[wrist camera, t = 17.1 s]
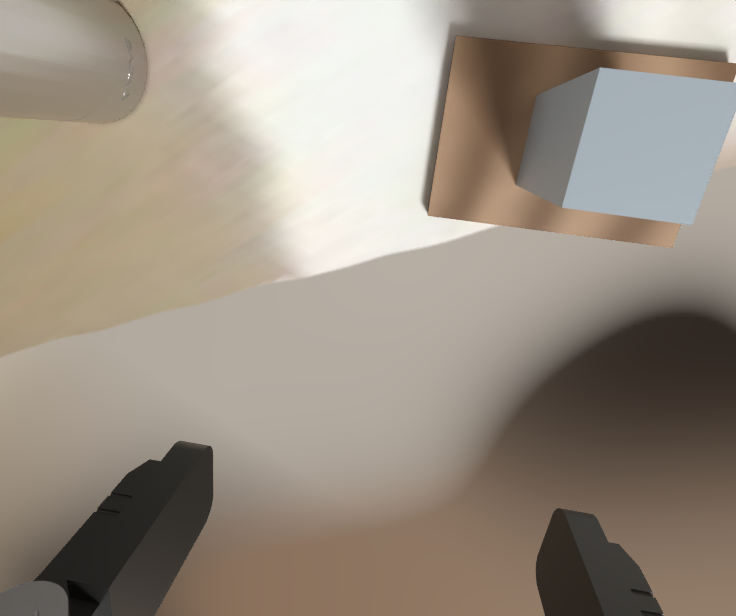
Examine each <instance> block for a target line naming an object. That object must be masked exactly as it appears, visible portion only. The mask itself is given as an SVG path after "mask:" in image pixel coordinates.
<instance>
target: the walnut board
mask: <svg viewBox="0 0 736 616" xmlns="http://www.w3.org/2000/svg"><path fill="white" fill-rule="evenodd" d="M600 67H601V68H610V69H619V70H627V71H636V72H645V73H654V74H663V75H672V76H681V77H690V78H699V79H708V80H717V81H725V82H733V80H734V78H735V75H736V63H726V62H716V61H706V60H695V59H685V58H675V57H665V56H655V55H645V54H635V53H625V52H615V51H605V50H595V49H585V48H575V47H565V46H555V45H544V44H534V43H524V42H514V41H504V40H494V39H484V38H474V37H464V36H456V38H455V44H454V51H453V57H452V63H451V70H450V76H449V82H448V89H447V95H446V101H445V108H444V114H443V120H442V127H441V133H440V139H439V146H438V152H437V158H436V165H435V171H434V177H433V184H432V190H431V196H430V203H429V209H428V216H434V217H442V218H449V219H457V220H465V221H472V222H480V223H487V224H495V225H503V226H511V227H518V228H525V229H533V230H541V231H549V232H556V233H563V234H571V235H579V236H587V237H594V238H602V239H609V240H617V241H624V242H632V243H639V244H647V245H655V246H662V247H670V248H672V247H673V245H674V242H675V239H676V237H677V234H678V231H679V228H680V226H681V224H678V223H671V222H664V221H656V220H649V219H642V218H634V217H627V216H620V215H612V214H605V213H598V212H590V211H583V210H576V209H568V208H562V207H559V206H557V205H555V204H553V203H551V202H549V201H547V200H545V199H543V198H541V197H539V196H537V195H535V194H533V193H531V192H529V191H527V190H525V189H523V188H520V187H518V186H516V183H517V178H518V174H519V170H520V165H521V161H522V157H523V152H524V148H525V144H526V140H527V135H528V131H529V127H530V122H531V118H532V114H533V109H534V105H535V101H536V97H537V95H538V94H540V93H543V92H545V91H547V90H550V89H552V88H554V87H556V86H559V85H561V84H563V83H566V82H568V81H570V80H573V79H575V78H577V77H579V76H582V75H584V74H586V73H589V72H591V71H593V70H595V69H598V68H600Z"/></svg>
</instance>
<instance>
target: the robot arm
mask: <svg viewBox="0 0 736 616" xmlns="http://www.w3.org/2000/svg"><path fill="white" fill-rule="evenodd" d="M146 79H147V59H146V54H145V48H144V45H143V42H142V39H141V36H140V34H139V32H138V30H137V28H136V26H135V24H134V23H133V21H132V19H131V18H130V17H129V15H128V14H127V13H126V12H125V10H124V9H123V8H122V7H121V6H120V5H119V4H118V3H117V2H115V1H114V0H0V117H4V118H21V119H38V120H55V121H69V122H87V123H109V122H115V121H117V120H119V119H122V118H124V117H125V116H126V115H128V114H129V113H130V112H131V111H133V109H134V108H135V107H136V105H137V104H138V102H139V101H140V99H141V97H142V94H143V92H144V89H145V84H146ZM212 501H213V450H212V448H211V446H207V445H201V444H196V443H190V442H184V441H178V442H177V443H175V444H174V445H173V447H172V448H171V449H170V451H169V452H168V453H167V454H166V456H165V457H164V458H163V459H162V461H155V460H148V461H147V462H145V463H143V464H142V465H140V466H139V467H137V468H136V469H134V470H133V471H131V472H129V473H128V474H127V475H126V476H125V477H124V478H123V479H122V481H121V482H120V483H119V484H118V485H117V486H116V487H115V489H114V490H113V491H112V493H111V495H110V496H108V497H107V498H106V499H105V500H104V501H103V502H102V504H101V505H100V506H99V507H98V510H97V512H94V513H93V514H92V515H91V516H90V517H89V519H88V520H87V521H86V522H85V523H84V524H83V526H82V527H81V528H80V529H79V530H78V531H77V532H76V534H75V535H74V536H73V537H72V538H71V539H70V541H69V542H68V543H67V544H66V545H65V546H64V547H63V549H62V550H61V551H60V552H59V553H58V554H57V555H56V557H55V558H54V559H53V560H52V561H51V562H50V563H49V565H48V566H47V567H46V568H45V569H44V570H43V572H42V573H41V574H40V575H39V576H38V577H37V578H36V579H35V580H34V581H33V582H27V583H24V584H20V585H17V586H15V587H12V588H10V589H8V590H6V591H4V592H2V593H0V616H155V614H156V612H157V610H158V608H159V607H160V605H161V603H162V601H163V599H164V598H165V596H166V594H167V592H168V590H169V589H170V587H171V585H172V583H173V581H174V580H175V578H176V576H177V574H178V572H179V571H180V568H181V567H182V565H183V563H184V561H185V560H186V558H187V556H188V554H189V552H190V551H191V549H192V547H193V545H194V543H195V542H196V540H197V538H198V536H199V534H200V533H201V531H202V529H203V527H204V525H205V523H206V521H207V519H208V516H209V513H210V510H211V506H212ZM536 581H537V586H538V591H539V595H540V598H541V602H542V605H543V609H544V613H545V616H664V614H663V612H662V610H661V608H660V606H659V604H658V602H657V600H656V598H653V595H652V594H653V592H652V590H651V589H650V586H649V585H648V583H647V581H646V579H645V577H644V575H643V573H642V571H641V569H640V567H639V566H638V565H637V564H636V563H635V562H634V561H633V560H632V558H631V557H630V556H629V555H628V554H627V553H626V552H625V551H624V549H623V548H622V547H621V546H620V545H619V544H615V543H609V542H608V541H607V538H606V536H605V534H604V532H603V530H602V528H601V526H600V524H599V522H598V520H597V518H596V517H595V516H594V515H593V514H589V513H583V512H577V511H572V510H566V509H560V508H558V509H556V510H555V511H554V513H553V515H552V518H551V520H550V523H549V526H548V529H547V531H546V534H545V537H544V539H543V542H542V545H541V548H540V550H539V553H538V556H537V562H536Z"/></svg>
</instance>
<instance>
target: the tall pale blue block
mask: <svg viewBox="0 0 736 616" xmlns="http://www.w3.org/2000/svg"><path fill="white" fill-rule="evenodd" d="M735 112H736V83H734V82H725V81H717V80H708V79H699V78H690V77H681V76H672V75H663V74H654V73H645V72H636V71H627V70H619V69H610V68H601V67H600V68H598V69H595V70H593V71H591V72H589V73H586V74H584V75H582V76H579V77H577V78H575V79H573V80H570V81H568V82H566V83H563V84H561V85H559V86H556V87H554V88H552V89H550V90H547V91H545V92H543V93H540V94H538V95H537V97H536V101H535V105H534V109H533V114H532V118H531V122H530V127H529V131H528V135H527V140H526V144H525V148H524V152H523V157H522V161H521V165H520V170H519V174H518V178H517V183H516V186H518V187H520V188H523V189H525V190H527V191H529V192H531V193H533V194H535V195H537V196H539V197H541V198H543V199H545V200H547V201H549V202H551V203H553V204H555V205H557V206H559V207H562V208H568V209H576V210H583V211H590V212H598V213H605V214H612V215H620V216H627V217H634V218H642V219H649V220H656V221H664V222H671V223H678V224H686V225H692V224H693V221H694V219H695V216H696V213H697V211H698V208H699V206H700V203H701V200H702V198H703V195H704V193H705V190H706V187H707V185H708V182H709V180H710V177H711V174H712V172H713V169H714V167H715V164H716V161H717V159H718V156H719V154H720V151H721V148H722V146H723V143H724V140H725V138H726V135H727V133H728V130H729V127H730V125H731V122H732V120H733V117H734V114H735Z"/></svg>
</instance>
